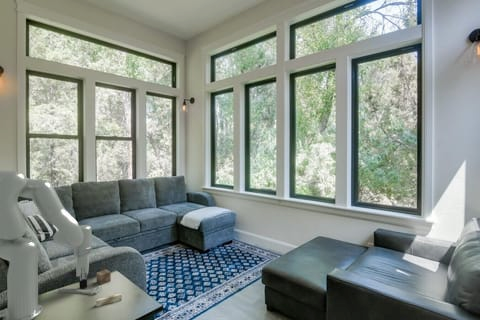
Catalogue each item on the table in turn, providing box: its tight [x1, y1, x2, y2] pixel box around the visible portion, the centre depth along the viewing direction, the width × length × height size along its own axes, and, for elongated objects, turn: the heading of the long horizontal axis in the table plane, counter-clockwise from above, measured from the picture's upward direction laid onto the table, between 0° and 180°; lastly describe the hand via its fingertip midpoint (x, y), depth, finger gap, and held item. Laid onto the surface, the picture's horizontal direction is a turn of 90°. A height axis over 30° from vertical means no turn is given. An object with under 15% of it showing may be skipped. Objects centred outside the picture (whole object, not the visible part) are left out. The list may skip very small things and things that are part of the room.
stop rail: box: [96, 292, 123, 307], centre depth 115 cm, size 10×2×2 cm, turn 121°
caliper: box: [58, 286, 102, 296], centre depth 123 cm, size 20×1×6 cm
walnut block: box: [95, 269, 112, 286], centre depth 134 cm, size 5×5×5 cm
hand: (83, 287), depth 128 cm, fingers closed
